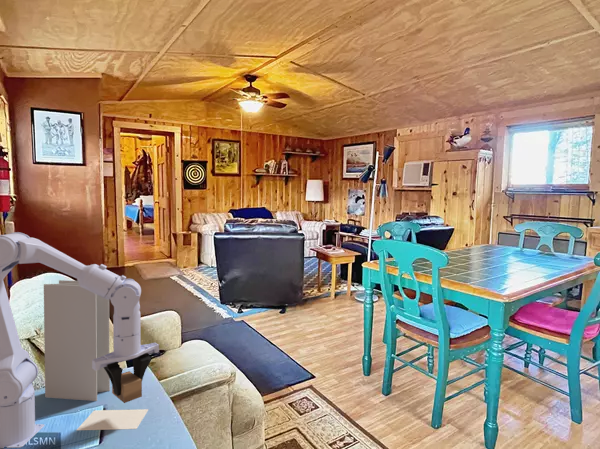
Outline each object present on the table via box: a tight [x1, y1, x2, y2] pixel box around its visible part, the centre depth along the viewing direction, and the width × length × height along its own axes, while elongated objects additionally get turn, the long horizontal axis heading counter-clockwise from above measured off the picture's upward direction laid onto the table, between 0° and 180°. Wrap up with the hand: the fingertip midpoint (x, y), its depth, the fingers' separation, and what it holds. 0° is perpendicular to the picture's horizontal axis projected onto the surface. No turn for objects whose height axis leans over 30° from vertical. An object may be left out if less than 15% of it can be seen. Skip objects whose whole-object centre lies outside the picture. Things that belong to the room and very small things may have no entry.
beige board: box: [76, 408, 149, 431], centre depth 86 cm, size 13×8×1 cm, turn 94°
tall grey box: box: [43, 279, 111, 402], centre depth 97 cm, size 14×6×30 cm, turn 84°
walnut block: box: [111, 370, 143, 404], centre depth 86 cm, size 7×4×4 cm, turn 48°
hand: (127, 390), depth 86 cm, fingers closed on walnut block, 4 cm apart
